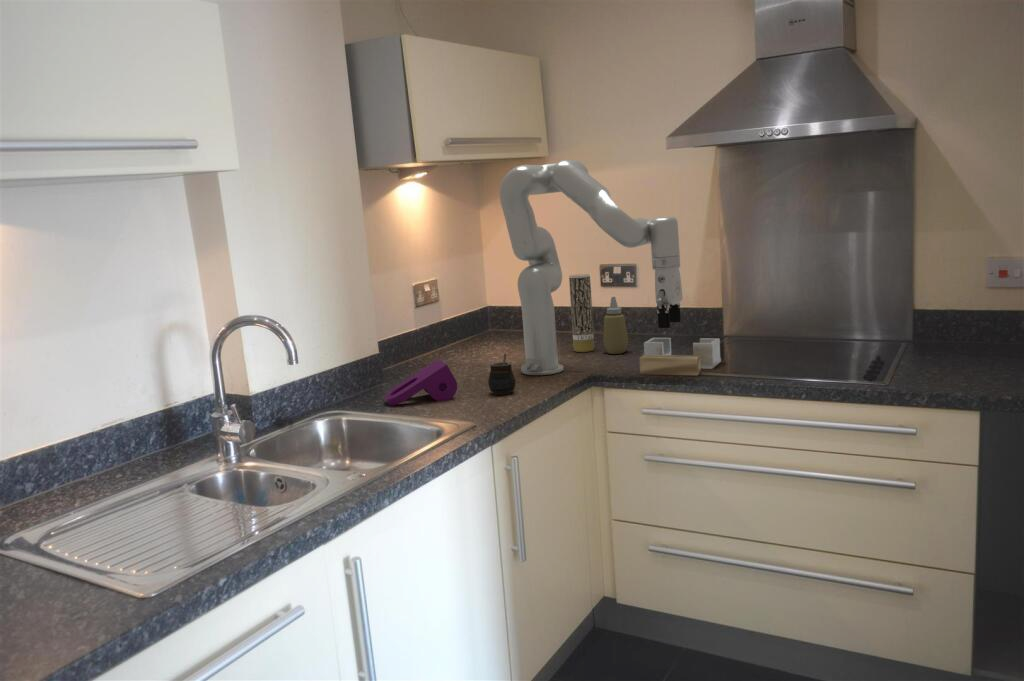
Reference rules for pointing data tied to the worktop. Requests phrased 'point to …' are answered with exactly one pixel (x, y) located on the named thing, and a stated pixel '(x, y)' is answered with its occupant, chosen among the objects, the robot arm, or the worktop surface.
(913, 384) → the worktop surface
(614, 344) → the squeeze bottle
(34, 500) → the worktop surface
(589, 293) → the paper tube
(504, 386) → the mate gourd
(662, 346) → the bracket
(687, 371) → the rail
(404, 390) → the mounting bracket
